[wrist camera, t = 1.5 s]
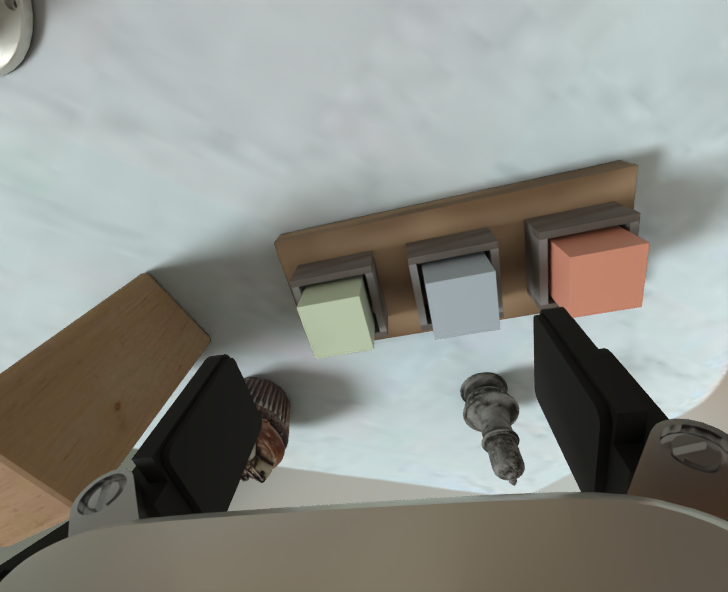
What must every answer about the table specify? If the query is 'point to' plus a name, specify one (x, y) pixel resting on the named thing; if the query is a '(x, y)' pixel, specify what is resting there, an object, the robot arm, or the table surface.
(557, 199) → the console
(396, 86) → the table surface
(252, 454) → the cupcake
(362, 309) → the sage key
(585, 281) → the red key
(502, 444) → the grey tall stone piece
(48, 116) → the table surface
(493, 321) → the slate key
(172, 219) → the table surface
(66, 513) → the wooden block
